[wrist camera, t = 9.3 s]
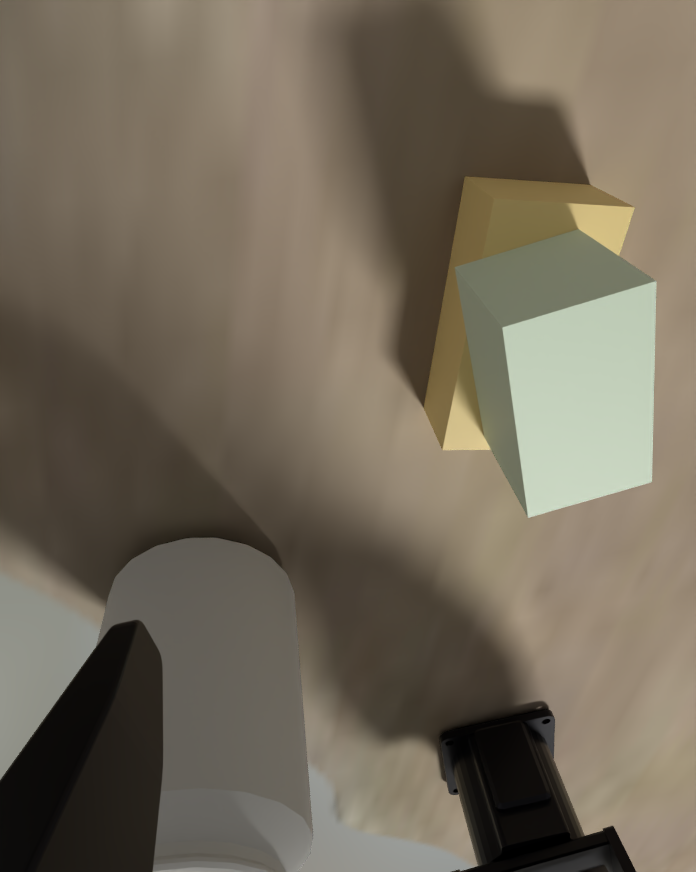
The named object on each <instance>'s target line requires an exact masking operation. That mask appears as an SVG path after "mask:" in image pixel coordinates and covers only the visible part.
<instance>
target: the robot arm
mask: <svg viewBox="0 0 696 872" xmlns="http://www.w3.org/2000/svg"><path fill="white" fill-rule="evenodd" d="M554 731H555V719H554V716H553V714H552V711H550V710H541V711H536V712H532V713H528V714H523V715H519V716H514V717H510V718H505V719H501V720H496V721H492V722H487V723H483V724H479V725H474V726H470V727H465V728H461V729H456V730H452V731H447V732H444V733H443V734H441V735H440V737H439V740H440V746H441V752H442V758H443V764H444V770H445V776H446V782H447V787H448V791H449V793H450V794H451V795H458V794H459V797H460V801H461V804H462V808H463V812H464V815H465V819H466V823H467V827H468V830H469V834H470V838H471V842H472V845H473V849H474V853H475V856H476V860H477V864H478V866H477V867H474V868H470V869H467V870H464V871H460V870H456V871H452V872H636V871H635V869H634V867H633V865H632V863H631V861H630V858H629V856H628V854H627V852H626V850H625V848H624V846H623V844H622V842H621V840H620V838H619V836H618V834H617V832H616V830H615V828H614V827H613V826H610V827H607V828H603V831H600V832H597V833H593V834H590V835H586V836H585V835H584V833H583V830H582V828H581V825H580V823H579V820H578V818H577V816H576V813H575V811H574V808H573V806H572V803H571V801H570V798H569V796H568V793H567V791H566V789H565V786H564V784H563V781H562V779H561V776H560V774H559V771H558V769H557V766H556V764H555V762H554ZM162 774H163V665H162V658H161V654H160V652H159V650H158V648H157V646H156V644H155V642H154V641H153V639H152V637H151V635H150V634H149V632H148V630H147V628H146V627H145V625H144V624H143V622H142V621H140V620H131V621H127V622H122V623H118V624H115V625H113V626H112V627H111V628H110V629H109V630H108V631H107V632H106V634H105V635H104V637H103V638H102V639H101V641H100V642H99V643H98V645H97V646H96V648H95V649H94V650H93V652H92V653H91V655H90V656H89V657H88V659H87V660H86V662H85V663H84V664H83V666H82V667H81V669H80V670H79V671H78V673H77V674H76V676H75V677H74V678H73V680H72V681H71V682H70V684H69V685H68V687H67V688H66V689H65V691H64V692H63V694H62V695H61V696H60V698H59V699H58V701H57V702H56V703H55V705H54V706H53V708H52V709H51V710H50V712H49V713H48V714H47V716H46V717H45V719H44V720H43V722H42V723H41V724H40V726H39V727H38V729H37V730H36V731H35V732H34V734H33V735H32V737H31V738H30V739H29V741H28V742H27V744H26V745H25V747H24V748H23V749H22V751H21V752H20V753H19V755H18V756H17V758H16V759H15V760H14V762H13V763H12V765H11V766H10V767H9V769H8V770H7V771H6V773H5V774H4V776H3V777H2V779H1V780H0V872H153V865H154V855H155V845H156V835H157V826H158V816H159V806H160V796H161V786H162Z"/></svg>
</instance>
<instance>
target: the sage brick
mask: <svg viewBox="0 0 696 872" xmlns="http://www.w3.org/2000/svg"><path fill="white" fill-rule="evenodd" d="M455 272H456V278H457V284H458V289H459V295H460V301H461V307H462V312H463V318H464V324H465V330H466V335H467V341H468V347H469V353H470V358H471V364H472V370H473V376H474V381H475V387H476V393H477V398H478V404H479V410H480V416H481V421H482V427H483V433H484V438H485V439H486V441H487V443H488V445H489V447H490V449H491V450H492V452H493V454H494V456H495V458H496V460H497V461H498V463H499V465H500V467H501V469H502V471H503V472H504V474H505V476H506V478H507V480H508V482H509V483H510V485H511V487H512V489H513V491H514V493H515V494H516V496H517V498H518V500H519V502H520V504H521V505H522V507H523V509H524V511H525V513H526V515H527V516H528V518H529V517H532V516H536V515H539V514H543V513H546V512H550V511H553V510H557V509H560V508H564V507H567V506H571V505H574V504H578V503H581V502H585V501H588V500H592V499H595V498H598V497H602V496H605V495H609V494H612V493H616V492H619V491H623V490H626V489H630V488H633V487H637V486H640V485H644V484H647V483H651V482H652V453H653V408H654V363H655V318H656V280H654V279H653V278H651V277H650V276H648V275H647V274H645V273H644V272H642V271H641V270H639V269H638V268H636V267H635V266H633V265H632V264H630V263H629V262H627V261H626V260H624V259H623V258H621V257H620V256H618V255H617V254H615V253H614V252H612V251H611V250H609V249H608V248H606V247H605V246H603V245H602V244H600V243H599V242H597V241H596V240H594V239H593V238H591V237H590V236H588V235H587V234H585V233H584V232H582V231H581V230H579V229H577V230H574V231H571V232H567V233H564V234H561V235H558V236H554V237H551V238H548V239H545V240H541V241H538V242H535V243H532V244H528V245H525V246H522V247H519V248H515V249H512V250H509V251H506V252H502V253H499V254H496V255H493V256H489V257H486V258H483V259H480V260H476V261H473V262H470V263H467V264H463V265H460V266H457V267H455Z"/></svg>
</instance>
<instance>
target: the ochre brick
mask: <svg viewBox="0 0 696 872" xmlns="http://www.w3.org/2000/svg"><path fill="white" fill-rule="evenodd" d="M634 208H635V207H633V206H631V205H629V204H627V203H625V202H623V201H621V200H619V199H617V198H615V197H613V196H611V195H609V194H607V193H605V192H603V191H602V190H600V189H598V188H596V187H594V186H592V185H586V184H571V183H556V182H541V181H526V180H511V179H496V178H481V177H466V176H465V179H464V185H463V190H462V196H461V201H460V207H459V213H458V218H457V224H456V229H455V235H454V241H453V246H452V252H451V257H450V263H449V269H448V274H447V280H446V285H445V291H444V297H443V302H442V308H441V313H440V319H439V325H438V330H437V336H436V341H435V347H434V353H433V358H432V364H431V369H430V375H429V381H428V386H427V392H426V397H425V403H424V410H425V412H426V414H427V416H428V419H429V421H430V423H431V425H432V428H433V430H434V432H435V434H436V437H437V439H438V441H439V443H440V446H441V448H442V450H491V449H490V447H489V445H488V443H487V441H486V439H485V438H484V433H483V427H482V421H481V416H480V410H479V404H478V398H477V393H476V387H475V381H474V376H473V370H472V364H471V358H470V353H469V347H468V341H467V335H466V330H465V324H464V318H463V312H462V307H461V301H460V295H459V289H458V284H457V278H456V272H455V267H457V266H460V265H463V264H467V263H470V262H473V261H476V260H480V259H483V258H486V257H489V256H493V255H496V254H499V253H502V252H506V251H509V250H512V249H515V248H519V247H522V246H525V245H528V244H532V243H535V242H538V241H541V240H545V239H548V238H551V237H554V236H558V235H561V234H564V233H567V232H571V231H574V230H577V229H579V230H581V231H582V232H584V233H585V234H587V235H588V236H590V237H591V238H593V239H594V240H596V241H597V242H599V243H600V244H602V245H603V246H605V247H606V248H608V249H609V250H611V251H612V252H614V253H615V254H617V255H618V256H619V254H620V251H621V248H622V245H623V242H624V239H625V236H626V233H627V230H628V226H629V223H630V220H631V217H632V214H633V211H634Z"/></svg>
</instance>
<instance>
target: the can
mask: <svg viewBox="0 0 696 872" xmlns="http://www.w3.org/2000/svg"><path fill="white" fill-rule="evenodd" d="M131 620H140V621H142V622H143V624H144V625H145V627H146V628H147V630H148V632H149V634H150V635H151V637H152V639H153V641H154V642H155V644H156V646H157V648H158V650H159V652H160V654H161V658H162V665H163V774H162V786H161V796H160V806H159V816H158V826H157V835H156V845H155V855H154V865H153V872H298V871H299V870H300V868H301V867H302V865H303V864H304V862H305V861H306V859H307V858H308V857H309V855H310V853H311V846H312V839H313V828H312V815H311V801H310V788H309V776H308V763H307V750H306V737H305V724H304V711H303V698H302V685H301V673H300V660H299V647H298V634H297V621H296V608H295V595H294V591H293V588H292V585H291V583H290V580H289V578H288V575H287V573H286V572H285V571H284V570H283V569H282V568H281V567H280V566H279V565H278V564H277V563H276V562H275V561H274V560H273V559H272V558H271V557H270V556H268V555H266V554H264V553H262V552H260V551H258V550H256V549H254V548H252V547H250V546H249V545H246V544H242V543H238V542H233V541H229V540H224V539H220V538H215V537H214V538H185V539H181V540H177V541H173V542H169V543H165V544H161V545H157V546H155V547H153V548H151V549H149V550H148V551H146V552H144V553H142V554H140V555H138V556H137V557H135V558H133V559H131V560H130V561H129V563H128V564H127V565H126V566H125V567H124V568H123V569H122V570H121V571H120V572H119V574H118V575H117V576H116V577H115V579H114V582H113V585H112V588H111V591H110V593H109V596H108V600H107V604H106V609H105V613H104V617H103V621H102V625H101V629H100V633H99V638H98V642H97V645H98V643H99V642H100V641H101V639H102V638H103V637H104V635H105V634H106V632H107V631H108V630H109V629H110V628H111V627H112V626H113V625H115V624H118V623H122V622H127V621H131Z"/></svg>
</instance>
